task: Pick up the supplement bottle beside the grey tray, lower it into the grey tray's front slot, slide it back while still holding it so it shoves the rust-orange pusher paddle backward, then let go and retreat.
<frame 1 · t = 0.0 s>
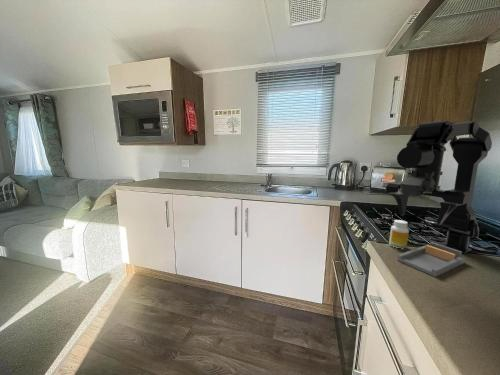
hand: (419, 220, 61), 15 cm above the countertop, tool pointing down, fingers open, 9 cm apart
grey tray: (430, 261, 66), on the countertop
supplement bottle: (397, 246, 76), on the countertop
pusher: (439, 253, 68), point 2 cm above the countertop, slide at 0.0 cm
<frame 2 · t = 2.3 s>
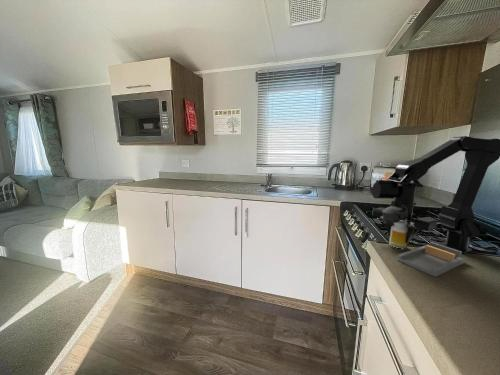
hand: (398, 239, 76), 3 cm above the countertop, tool pointing down, fingers closed on supplement bottle, 5 cm apart
supplement bottle: (397, 246, 76), on the countertop, touching gripper
everything else where it was.
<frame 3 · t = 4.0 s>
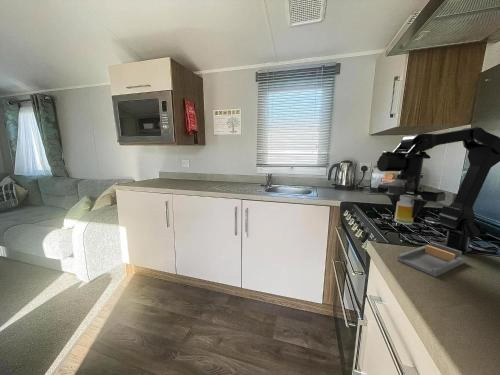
hand: (404, 215, 73), 12 cm above the countertop, tool pointing down, fingers closed on supplement bottle, 5 cm apart
supplement bottle: (403, 222, 73), point 10 cm above the countertop, touching gripper
everything else where it was.
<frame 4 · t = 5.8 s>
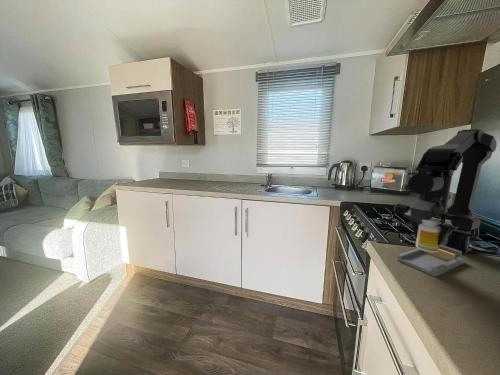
hand: (427, 241, 63), 8 cm above the countertop, tool pointing down, fingers closed on supplement bottle, 5 cm apart
supplement bottle: (426, 249, 63), point 5 cm above the countertop, touching gripper
everything else where it was.
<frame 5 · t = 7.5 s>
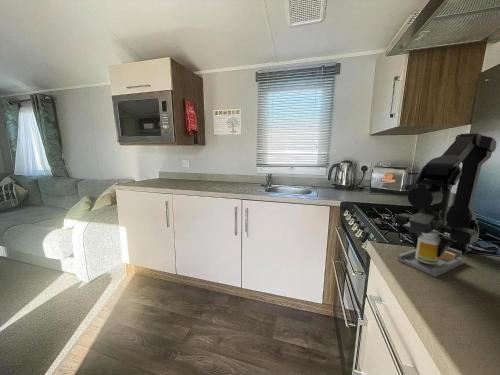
hand: (427, 252, 64), 4 cm above the countertop, tool pointing down, fingers closed on supplement bottle, 5 cm apart
supplement bottle: (425, 260, 64), point 1 cm above the countertop, touching gripper
everything else where it was.
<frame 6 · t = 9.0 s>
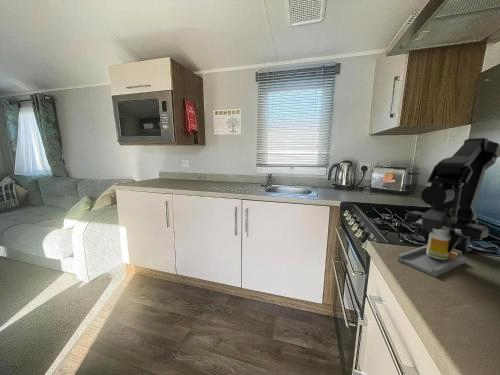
hand: (437, 248, 67), 4 cm above the countertop, tool pointing down, fingers closed on supplement bottle, 5 cm apart
supplement bottle: (436, 256, 67), point 1 cm above the countertop, touching gripper, pusher
pusher: (441, 252, 68), point 2 cm above the countertop, slide at 1.6 cm, touching supplement bottle
when the fingers open (4 cm above the countertop, at t = 9.3 s): supplement bottle stays where it is, resting on grey tray.
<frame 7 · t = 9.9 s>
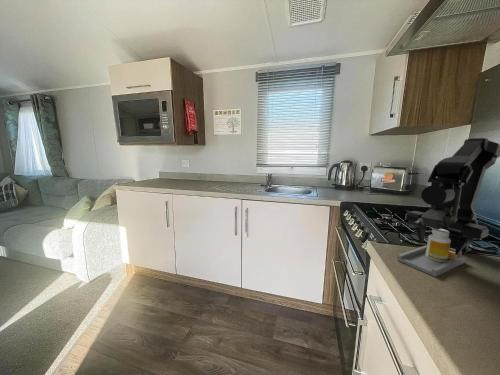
hand: (437, 248, 67), 4 cm above the countertop, tool pointing down, fingers open, 9 cm apart
supplement bottle: (435, 258, 67), resting on grey tray
pusher: (441, 252, 68), point 2 cm above the countertop, slide at 1.6 cm
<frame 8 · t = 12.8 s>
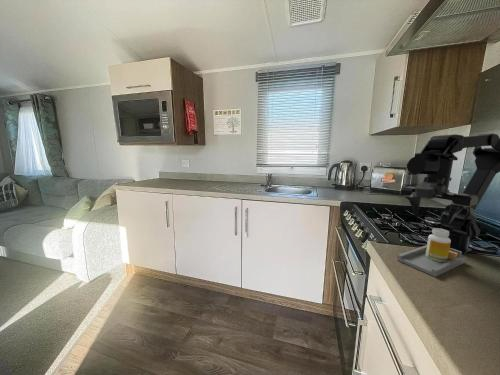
hand: (430, 219, 70), 12 cm above the countertop, tool pointing down, fingers open, 9 cm apart
nothing on the countertop moved.
at the end: supplement bottle 0.3 cm from the target spot, resting on grey tray; pusher slide at 1.6 cm; supplement bottle tilted 0° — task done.
